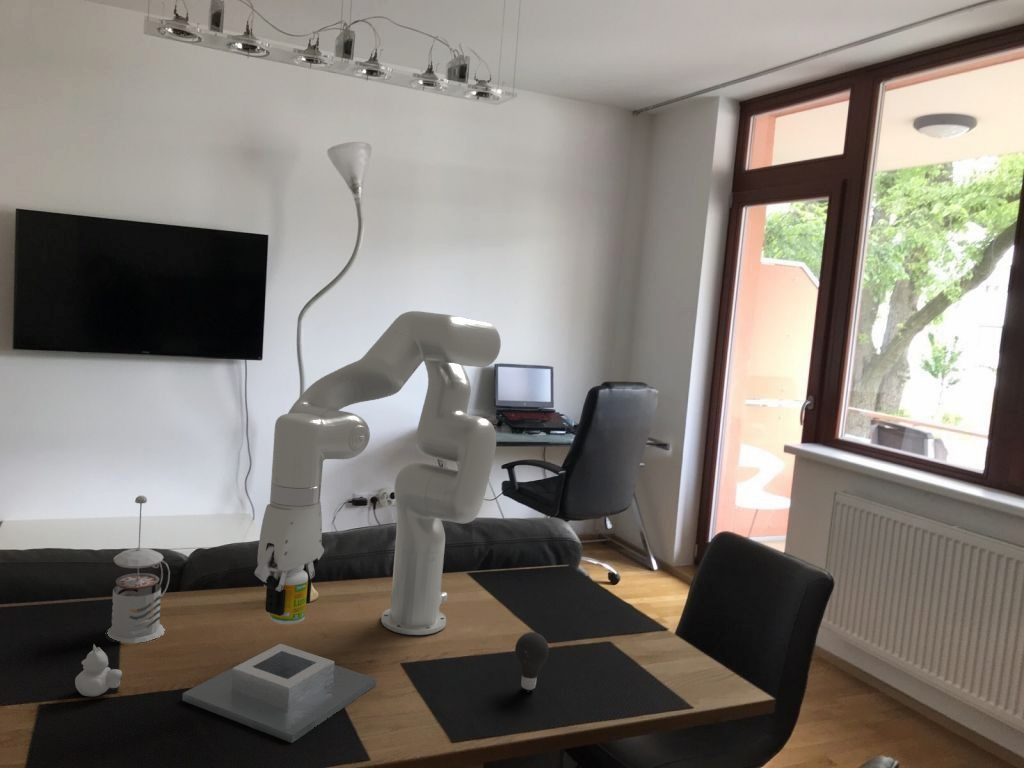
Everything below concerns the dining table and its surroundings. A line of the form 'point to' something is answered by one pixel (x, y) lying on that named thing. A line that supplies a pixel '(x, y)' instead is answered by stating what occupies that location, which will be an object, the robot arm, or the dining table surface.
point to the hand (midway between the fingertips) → (288, 606)
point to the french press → (137, 623)
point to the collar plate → (273, 714)
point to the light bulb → (531, 657)
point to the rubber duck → (97, 674)
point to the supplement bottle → (293, 597)
